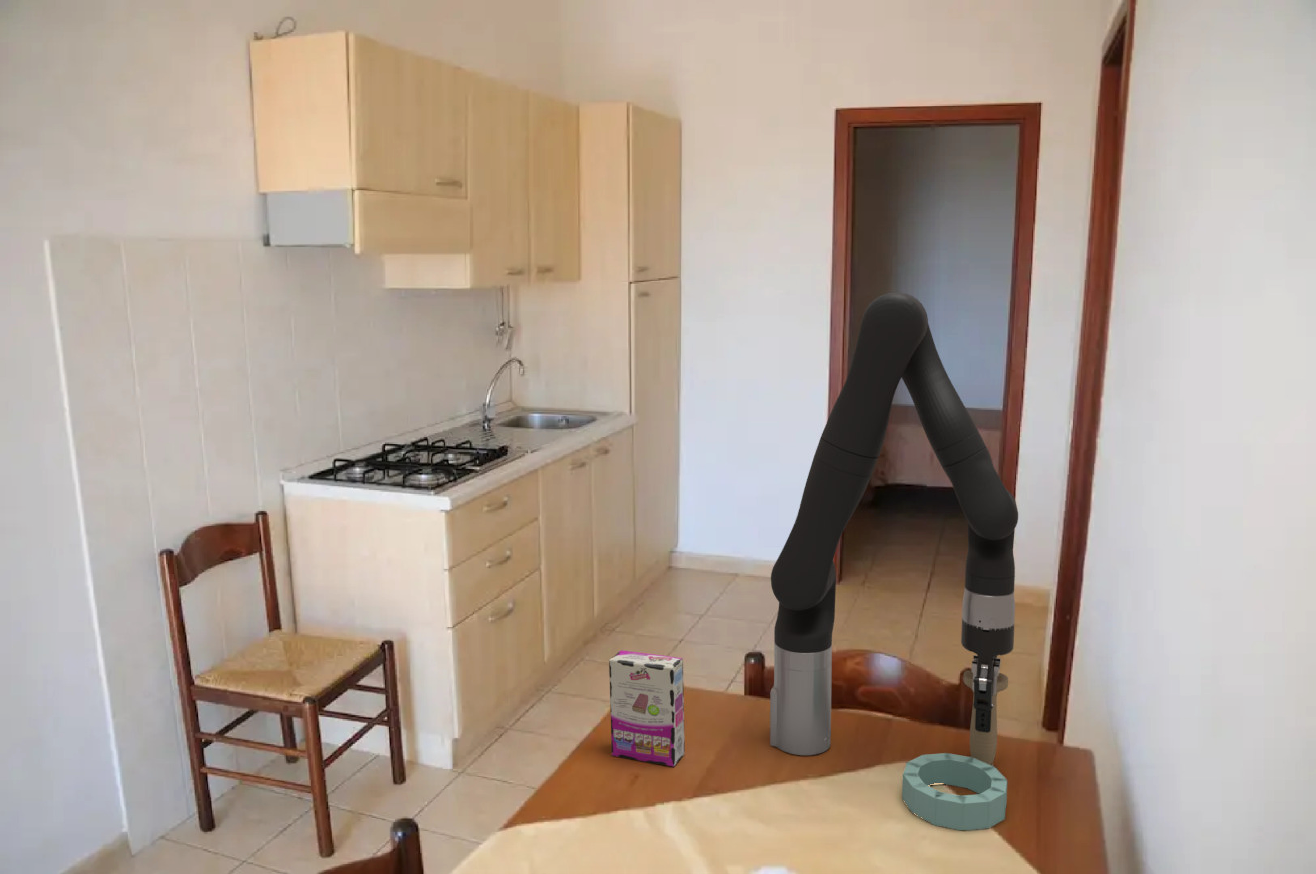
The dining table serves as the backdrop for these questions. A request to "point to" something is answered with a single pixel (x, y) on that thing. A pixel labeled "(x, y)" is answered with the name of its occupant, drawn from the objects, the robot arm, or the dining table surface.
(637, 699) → the candy bar box
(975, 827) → the notched ring
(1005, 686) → the handle
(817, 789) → the dining table surface
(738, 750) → the dining table surface
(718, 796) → the dining table surface
